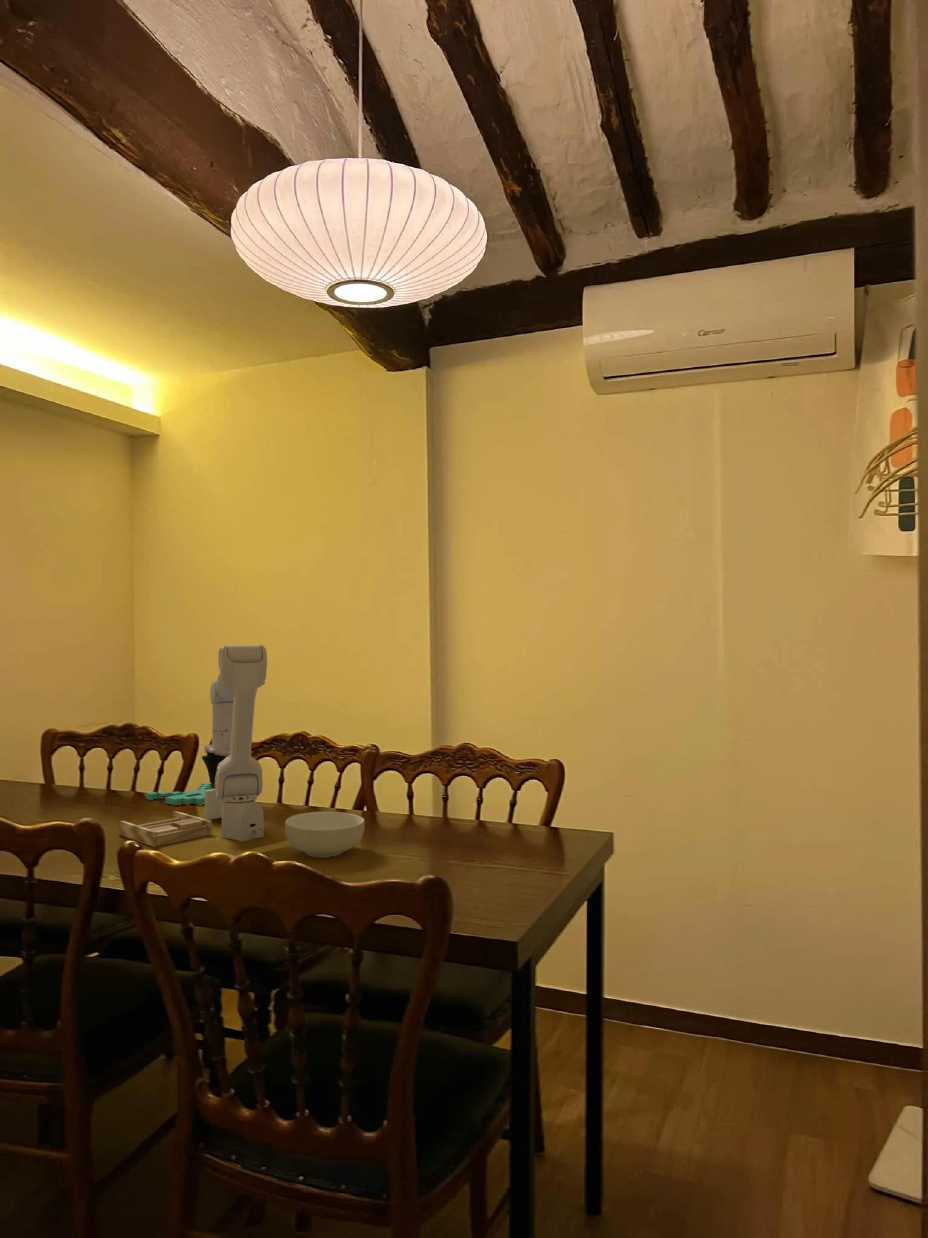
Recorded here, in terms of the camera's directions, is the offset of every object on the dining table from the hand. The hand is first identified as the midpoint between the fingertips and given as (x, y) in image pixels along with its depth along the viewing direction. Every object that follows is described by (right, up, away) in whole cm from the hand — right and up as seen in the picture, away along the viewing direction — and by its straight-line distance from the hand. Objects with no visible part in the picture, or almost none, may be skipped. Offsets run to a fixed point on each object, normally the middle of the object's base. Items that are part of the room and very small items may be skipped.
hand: (224, 785), depth 208 cm
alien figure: (-14, -9, +25) cm, 30 cm away
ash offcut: (-7, -8, -23) cm, 25 cm away
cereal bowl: (+30, -9, -28) cm, 42 cm away
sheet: (0, -9, 0) cm, 9 cm away
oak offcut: (-3, -8, -19) cm, 20 cm away
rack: (-8, -9, -18) cm, 22 cm away
